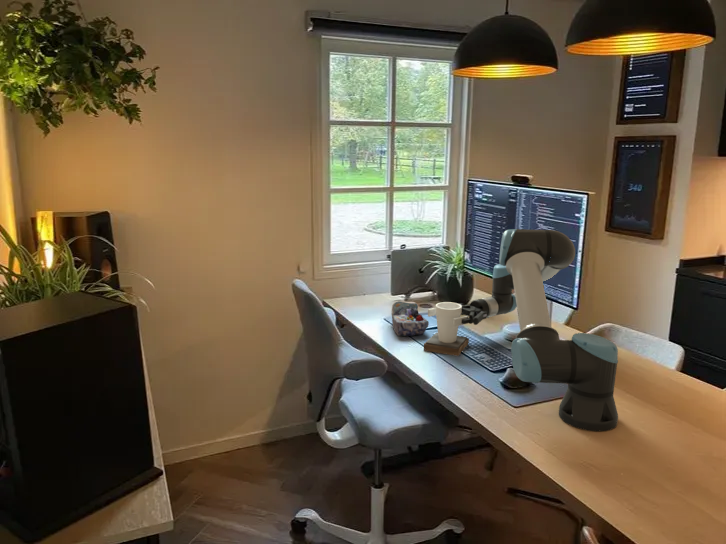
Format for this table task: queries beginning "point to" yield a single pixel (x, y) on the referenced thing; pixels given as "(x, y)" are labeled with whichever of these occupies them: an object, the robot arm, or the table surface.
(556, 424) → the table surface
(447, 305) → the foam cup
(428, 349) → the stand
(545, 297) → the robot arm
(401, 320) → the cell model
